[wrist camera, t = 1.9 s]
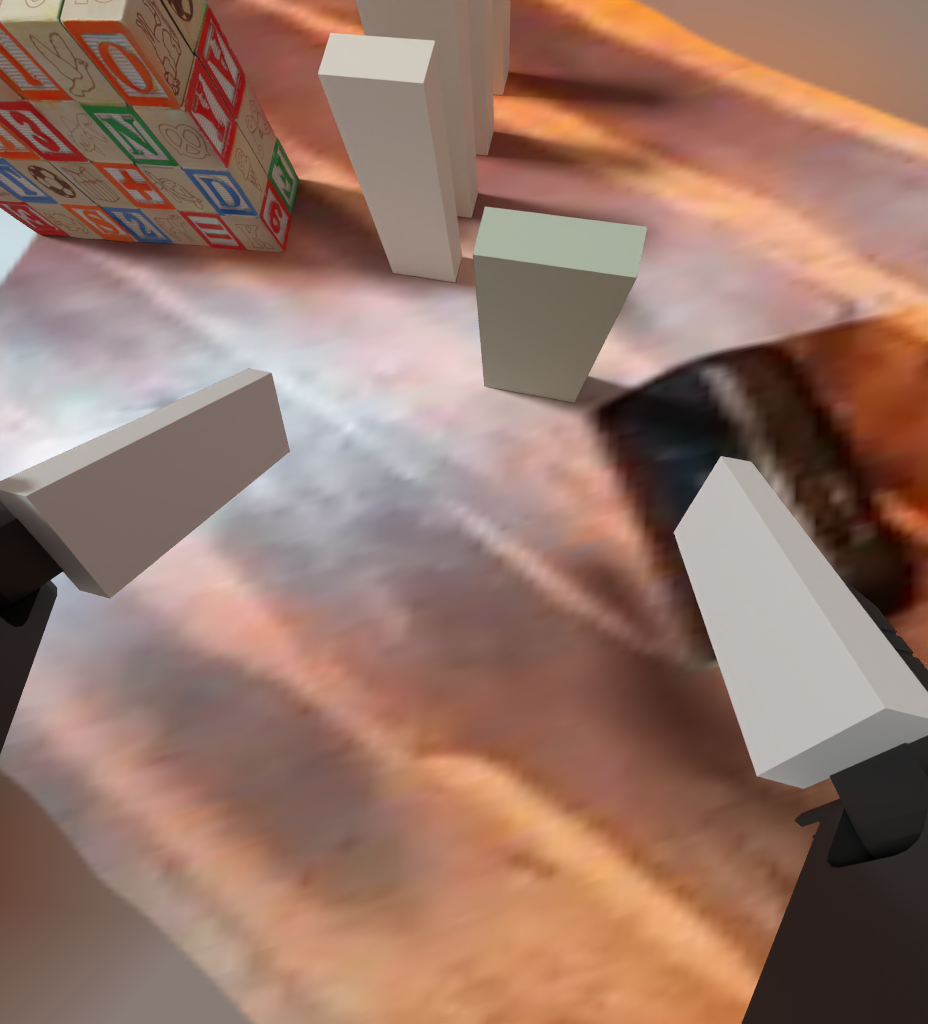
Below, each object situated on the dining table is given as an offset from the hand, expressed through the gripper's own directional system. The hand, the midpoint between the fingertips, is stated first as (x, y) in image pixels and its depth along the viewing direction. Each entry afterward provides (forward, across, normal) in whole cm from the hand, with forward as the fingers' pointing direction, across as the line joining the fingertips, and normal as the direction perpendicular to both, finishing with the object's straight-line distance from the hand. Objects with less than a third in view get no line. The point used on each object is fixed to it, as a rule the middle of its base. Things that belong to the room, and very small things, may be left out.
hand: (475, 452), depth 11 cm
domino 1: (+24, -8, +6) cm, 26 cm away
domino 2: (+20, -8, +2) cm, 22 cm away
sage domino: (+15, +1, -3) cm, 15 cm away
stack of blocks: (+22, -30, +3) cm, 37 cm away
